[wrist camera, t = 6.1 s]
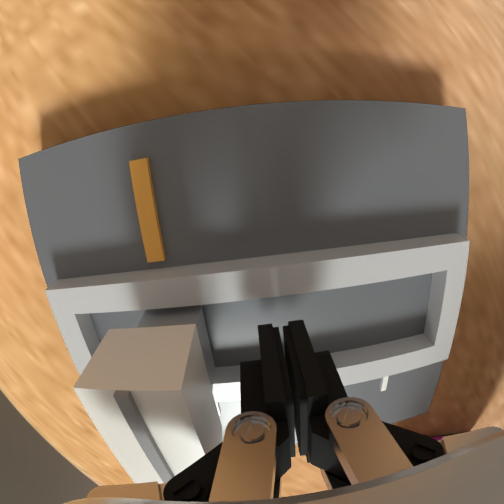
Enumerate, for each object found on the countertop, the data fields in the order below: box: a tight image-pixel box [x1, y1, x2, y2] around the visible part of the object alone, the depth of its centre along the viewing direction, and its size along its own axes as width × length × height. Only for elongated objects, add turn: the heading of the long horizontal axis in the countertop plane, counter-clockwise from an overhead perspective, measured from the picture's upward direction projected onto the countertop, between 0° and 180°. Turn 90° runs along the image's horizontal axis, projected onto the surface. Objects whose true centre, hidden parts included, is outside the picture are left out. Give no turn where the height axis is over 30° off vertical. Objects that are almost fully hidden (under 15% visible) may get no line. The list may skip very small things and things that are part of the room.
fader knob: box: [73, 305, 222, 484], centre depth 10 cm, size 3×5×6 cm, turn 6°
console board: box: [18, 100, 470, 444], centre depth 14 cm, size 20×18×3 cm
